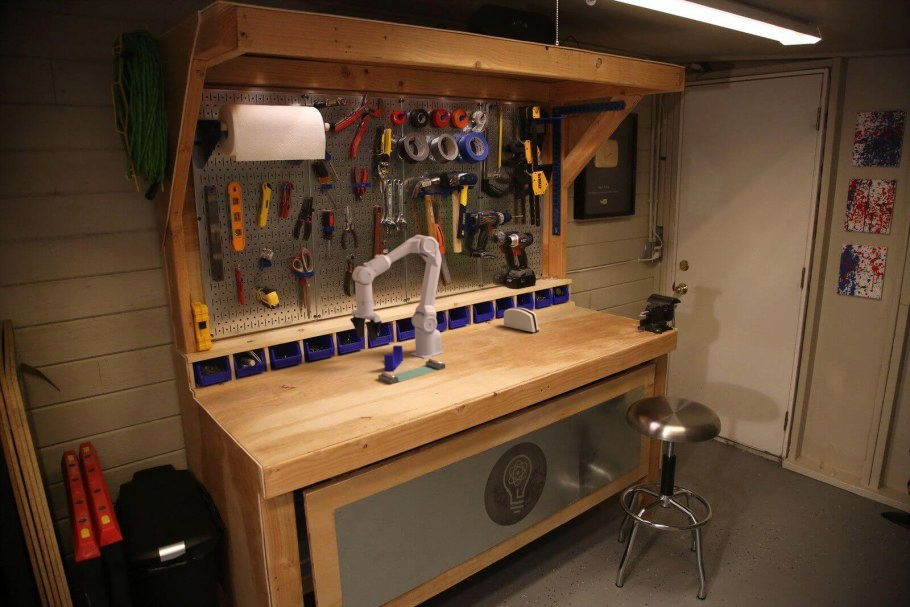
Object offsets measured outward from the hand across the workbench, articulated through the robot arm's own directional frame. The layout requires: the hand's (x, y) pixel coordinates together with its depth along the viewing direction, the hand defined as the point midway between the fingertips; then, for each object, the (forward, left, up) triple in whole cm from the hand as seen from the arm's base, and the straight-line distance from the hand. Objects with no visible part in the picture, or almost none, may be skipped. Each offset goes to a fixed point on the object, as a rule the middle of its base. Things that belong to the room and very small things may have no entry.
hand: (366, 338), depth 214 cm
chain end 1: (+5, +19, -10) cm, 22 cm away
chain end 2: (-15, +19, -10) cm, 26 cm away
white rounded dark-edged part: (-73, +7, -10) cm, 74 cm away
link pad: (-5, +19, -10) cm, 22 cm away
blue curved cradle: (-5, +7, -10) cm, 13 cm away
